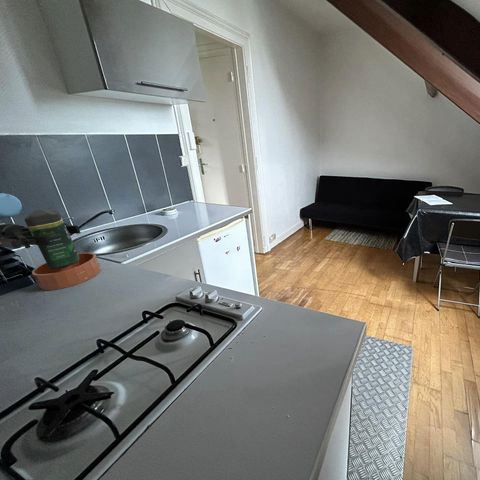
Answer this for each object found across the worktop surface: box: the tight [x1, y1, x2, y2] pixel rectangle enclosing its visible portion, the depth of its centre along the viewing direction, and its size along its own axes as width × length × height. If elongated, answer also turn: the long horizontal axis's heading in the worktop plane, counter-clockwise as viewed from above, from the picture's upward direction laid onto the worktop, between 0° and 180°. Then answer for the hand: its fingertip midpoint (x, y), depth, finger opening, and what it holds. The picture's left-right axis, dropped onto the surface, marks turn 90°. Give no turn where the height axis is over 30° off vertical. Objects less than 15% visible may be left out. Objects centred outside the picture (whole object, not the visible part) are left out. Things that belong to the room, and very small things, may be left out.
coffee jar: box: [24, 208, 80, 269], centre depth 84 cm, size 10×8×19 cm
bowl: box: [31, 252, 102, 291], centre depth 89 cm, size 16×16×6 cm
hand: (63, 234), depth 83 cm, fingers closed on coffee jar, 8 cm apart
